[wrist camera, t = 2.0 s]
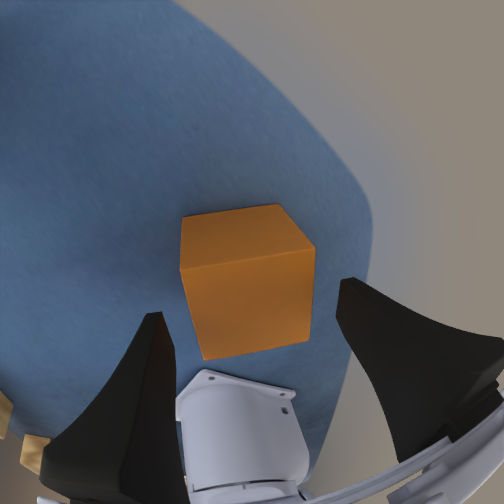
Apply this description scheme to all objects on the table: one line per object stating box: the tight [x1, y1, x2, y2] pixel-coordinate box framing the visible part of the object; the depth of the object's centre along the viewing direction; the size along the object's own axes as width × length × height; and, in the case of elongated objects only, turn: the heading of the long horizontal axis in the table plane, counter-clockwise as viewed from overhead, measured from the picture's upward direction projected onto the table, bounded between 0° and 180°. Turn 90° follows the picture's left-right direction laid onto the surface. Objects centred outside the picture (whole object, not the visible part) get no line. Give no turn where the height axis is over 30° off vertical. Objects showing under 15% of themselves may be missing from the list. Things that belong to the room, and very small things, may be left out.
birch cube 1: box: [20, 434, 52, 476], centre depth 22 cm, size 5×5×5 cm
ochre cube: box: [180, 204, 316, 361], centre depth 14 cm, size 5×5×5 cm
